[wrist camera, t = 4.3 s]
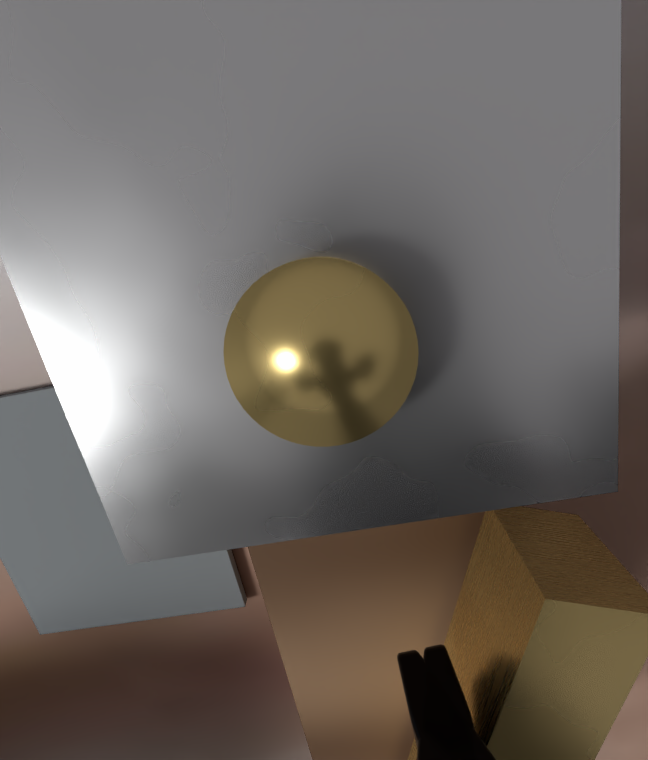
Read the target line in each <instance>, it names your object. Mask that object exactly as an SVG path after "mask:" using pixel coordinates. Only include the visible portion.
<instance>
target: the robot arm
mask: <svg viewBox="0 0 648 760" xmlns="http://www.w3.org/2000/svg"><path fill="white" fill-rule="evenodd" d="M397 661H398V665H399V670H400V674H401V679H402V684H403V688H404V693H405V697H406V702H407V706H408V711H409V715H410V720H411V724H412V728H413V733H414V737H415V741H416V746H417V760H496V759H495V757H494V756H493V754H492V753H491V752H490V750H489V749H488V747H487V746H486V745H485V743H484V742H483V741H482V739H481V738H480V736H479V735H478V734H477V732H476V731H475V728H474V724H473V720H472V717H471V713H470V710H469V707H468V704H467V701H466V699H465V696H464V693H463V691H462V688H461V686H460V683H459V680H458V678H457V675H456V672H455V670H454V667H453V665H452V662H451V659H450V657H449V654H448V651H447V649H446V647H445V646H444V645H442V644H439V645H434V646H430V647H426V648H425V649H424V655H423V658H422V656H421V655H420V653H419V652H418V651H416V650H410V651H405V652H401V653H398V655H397Z"/></svg>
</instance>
